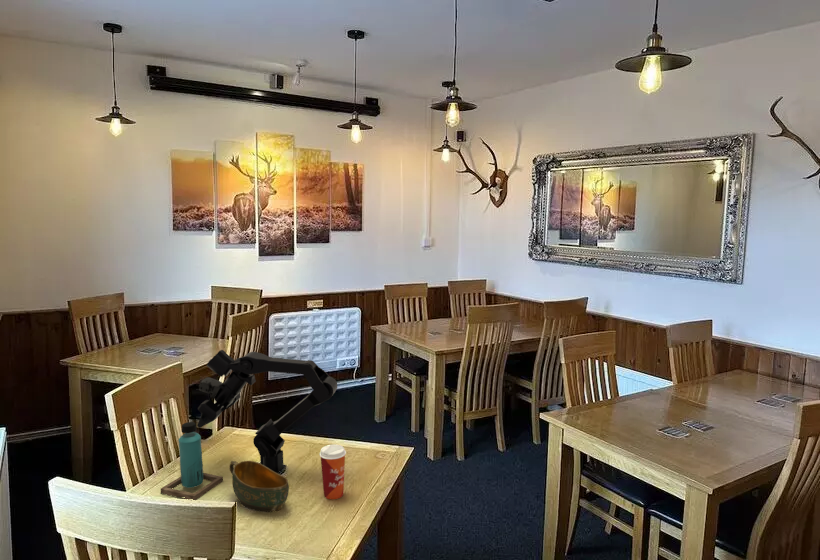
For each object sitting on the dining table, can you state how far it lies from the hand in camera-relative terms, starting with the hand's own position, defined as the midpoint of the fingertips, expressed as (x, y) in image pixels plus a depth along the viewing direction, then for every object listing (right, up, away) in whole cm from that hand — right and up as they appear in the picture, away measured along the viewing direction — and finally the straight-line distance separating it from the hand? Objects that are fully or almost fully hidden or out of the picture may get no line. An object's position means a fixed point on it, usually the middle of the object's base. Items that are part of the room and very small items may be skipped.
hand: (205, 421), depth 177 cm
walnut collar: (0, -17, -11) cm, 20 cm away
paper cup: (+43, -18, -16) cm, 49 cm away
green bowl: (+23, -18, -20) cm, 35 cm away
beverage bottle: (0, -17, -11) cm, 21 cm away
